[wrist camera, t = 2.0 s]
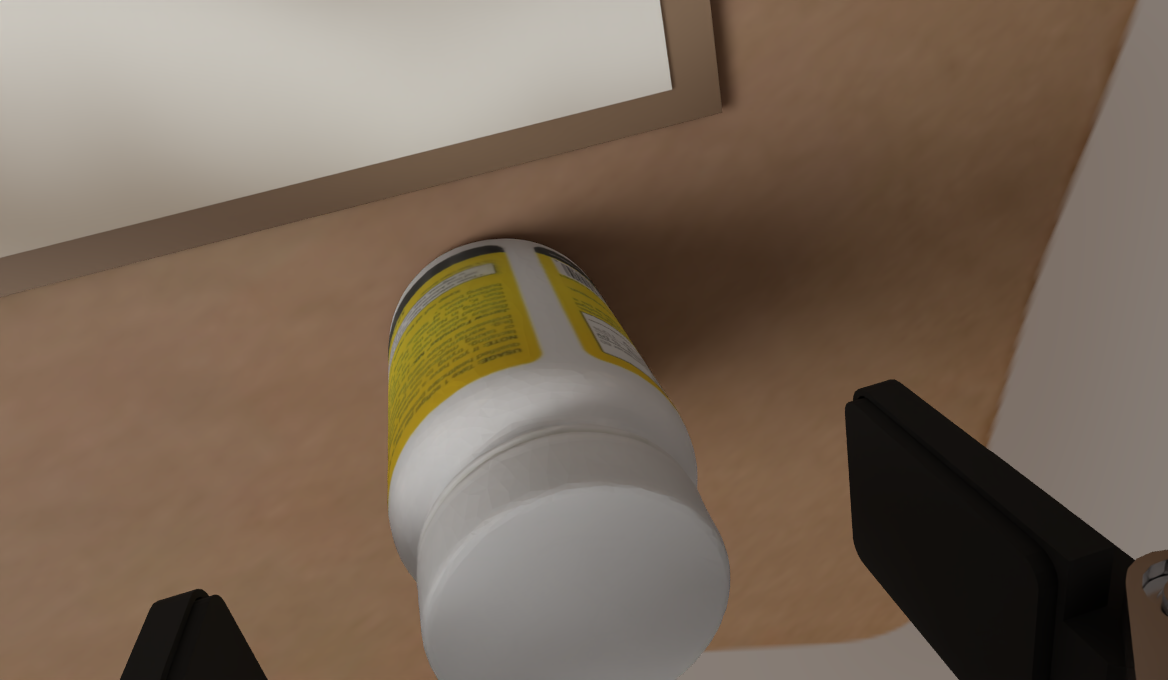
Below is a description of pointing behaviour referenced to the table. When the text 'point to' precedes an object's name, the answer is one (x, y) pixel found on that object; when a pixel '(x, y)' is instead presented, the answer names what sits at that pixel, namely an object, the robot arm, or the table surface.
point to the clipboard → (304, 109)
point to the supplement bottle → (542, 479)
